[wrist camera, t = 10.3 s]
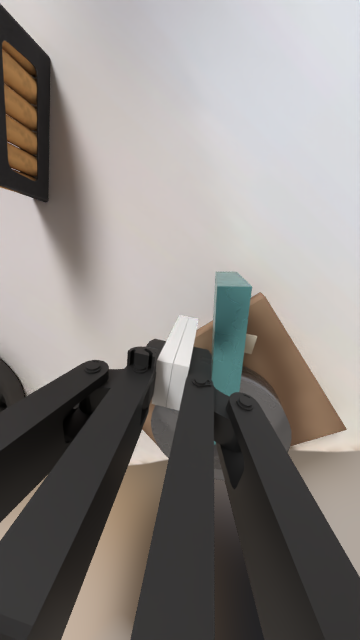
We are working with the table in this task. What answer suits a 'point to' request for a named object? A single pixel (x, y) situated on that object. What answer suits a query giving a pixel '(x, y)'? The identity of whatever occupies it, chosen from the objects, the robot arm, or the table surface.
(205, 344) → the stand
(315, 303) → the table surface
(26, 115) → the ammunition clip
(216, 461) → the dial
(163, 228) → the table surface
